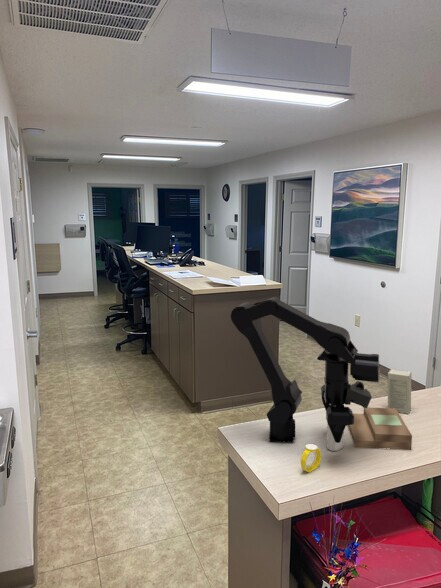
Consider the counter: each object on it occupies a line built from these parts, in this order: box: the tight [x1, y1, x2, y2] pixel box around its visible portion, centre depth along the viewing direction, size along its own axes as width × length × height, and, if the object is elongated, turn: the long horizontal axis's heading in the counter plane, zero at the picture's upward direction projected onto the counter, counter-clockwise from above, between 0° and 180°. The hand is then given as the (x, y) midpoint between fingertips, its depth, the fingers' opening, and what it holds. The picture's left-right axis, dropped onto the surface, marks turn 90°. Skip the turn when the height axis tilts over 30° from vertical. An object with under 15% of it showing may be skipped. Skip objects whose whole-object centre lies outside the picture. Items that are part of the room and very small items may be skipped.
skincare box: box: [387, 368, 412, 415], centre depth 133 cm, size 6×4×12 cm
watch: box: [300, 443, 322, 473], centre depth 104 cm, size 6×3×6 cm, turn 128°
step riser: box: [347, 407, 413, 451], centre depth 120 cm, size 14×16×4 cm
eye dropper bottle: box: [326, 423, 345, 452], centre depth 113 cm, size 4×6×12 cm
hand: (335, 434), depth 113 cm, fingers closed on eye dropper bottle, 8 cm apart
